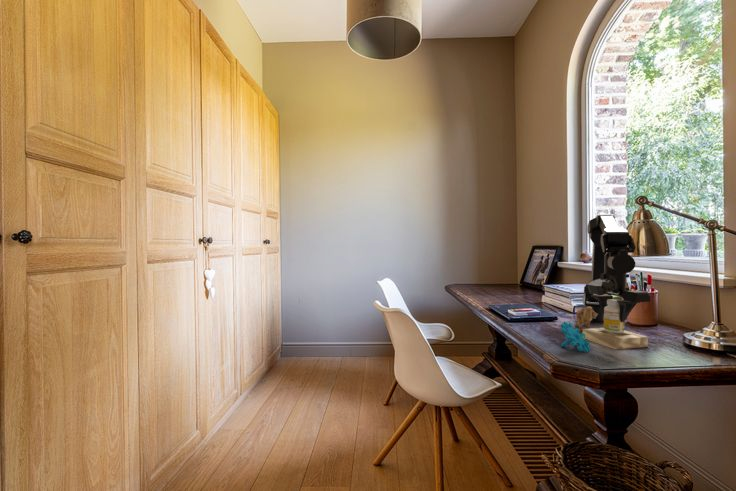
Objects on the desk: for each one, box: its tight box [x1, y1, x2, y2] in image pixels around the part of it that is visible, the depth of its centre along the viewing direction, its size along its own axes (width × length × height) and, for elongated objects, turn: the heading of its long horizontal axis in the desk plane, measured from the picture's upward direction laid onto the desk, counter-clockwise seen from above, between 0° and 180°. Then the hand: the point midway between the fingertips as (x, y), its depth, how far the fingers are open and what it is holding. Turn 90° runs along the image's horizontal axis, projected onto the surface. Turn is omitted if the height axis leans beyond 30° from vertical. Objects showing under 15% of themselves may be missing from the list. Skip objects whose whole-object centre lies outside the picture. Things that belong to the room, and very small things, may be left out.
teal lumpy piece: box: [559, 321, 591, 353], centre depth 108 cm, size 11×6×10 cm
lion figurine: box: [574, 306, 598, 331], centre depth 131 cm, size 15×5×9 cm, turn 167°
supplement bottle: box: [603, 298, 625, 333], centre depth 114 cm, size 5×5×10 cm
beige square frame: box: [582, 327, 649, 350], centre depth 114 cm, size 12×12×3 cm
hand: (614, 319), depth 114 cm, fingers closed on supplement bottle, 5 cm apart
